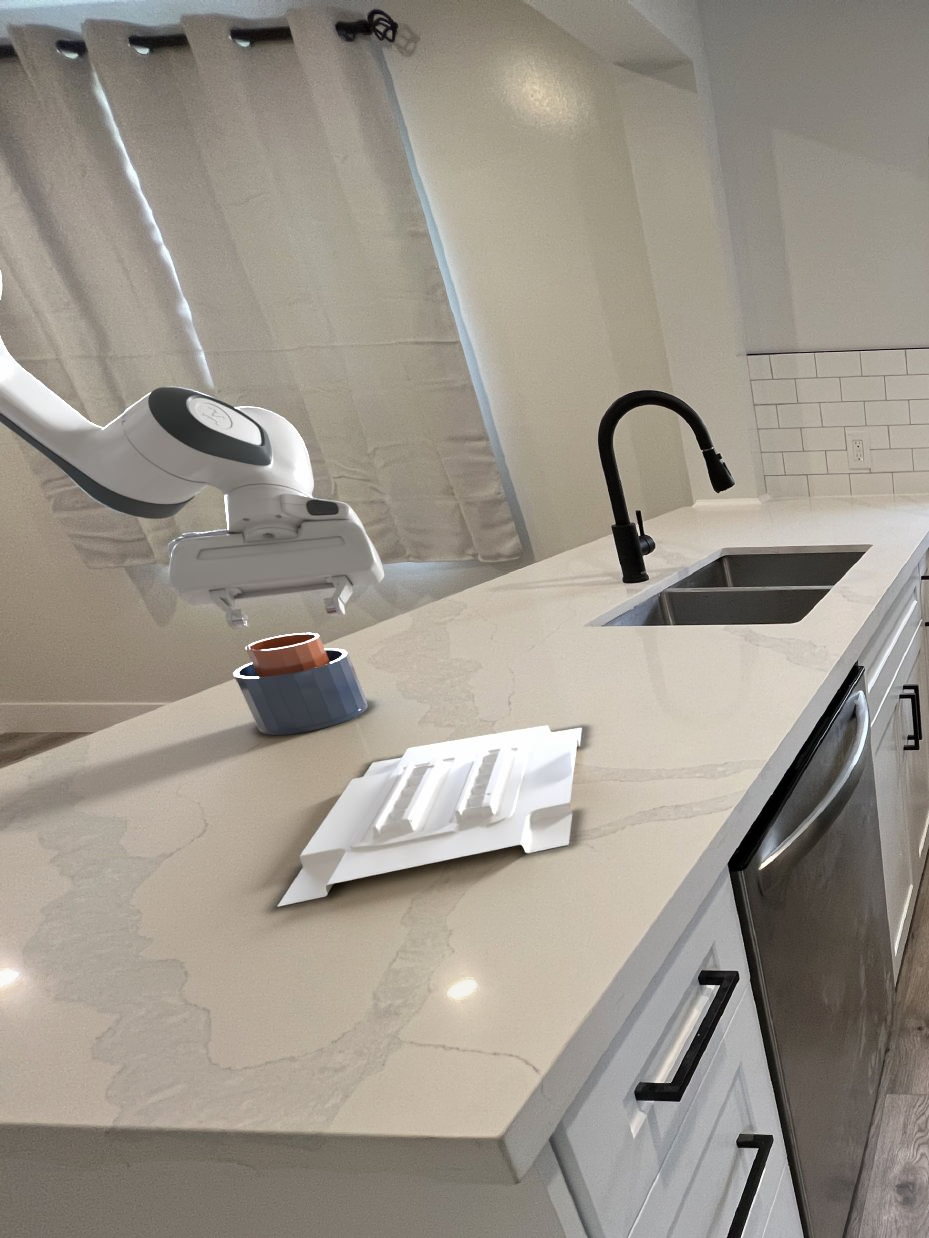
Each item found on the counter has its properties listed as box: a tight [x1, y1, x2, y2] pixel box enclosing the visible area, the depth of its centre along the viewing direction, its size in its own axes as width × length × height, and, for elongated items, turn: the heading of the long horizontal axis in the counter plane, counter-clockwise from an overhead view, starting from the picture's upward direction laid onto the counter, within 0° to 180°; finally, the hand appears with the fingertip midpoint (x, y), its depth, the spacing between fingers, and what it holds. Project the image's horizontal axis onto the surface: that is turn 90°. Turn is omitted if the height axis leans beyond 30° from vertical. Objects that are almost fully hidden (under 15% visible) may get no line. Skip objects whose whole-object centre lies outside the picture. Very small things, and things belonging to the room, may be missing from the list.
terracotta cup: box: [245, 632, 330, 677], centre depth 95 cm, size 7×7×9 cm
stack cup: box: [232, 648, 369, 736], centre depth 95 cm, size 11×11×7 cm
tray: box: [276, 724, 583, 907], centre depth 75 cm, size 20×28×4 cm
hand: (288, 620), depth 96 cm, fingers open, 8 cm apart
